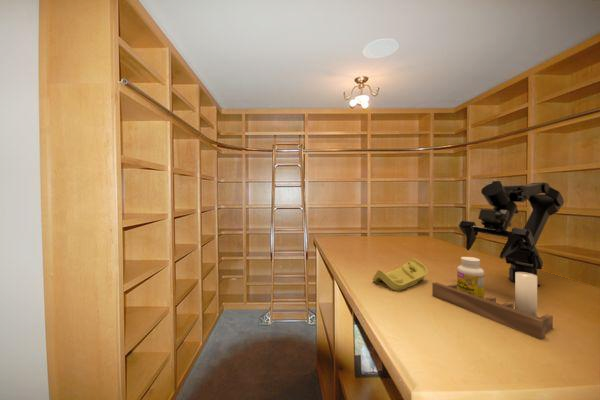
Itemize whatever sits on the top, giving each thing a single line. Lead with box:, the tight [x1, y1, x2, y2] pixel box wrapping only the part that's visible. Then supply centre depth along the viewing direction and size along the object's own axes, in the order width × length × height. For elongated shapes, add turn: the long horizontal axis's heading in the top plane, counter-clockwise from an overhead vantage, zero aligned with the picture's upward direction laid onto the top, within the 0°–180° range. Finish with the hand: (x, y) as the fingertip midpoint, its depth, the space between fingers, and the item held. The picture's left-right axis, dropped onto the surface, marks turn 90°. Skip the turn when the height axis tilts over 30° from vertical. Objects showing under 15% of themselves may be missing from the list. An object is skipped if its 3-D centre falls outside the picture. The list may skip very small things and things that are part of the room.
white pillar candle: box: [514, 272, 538, 317], centre depth 59 cm, size 4×4×12 cm
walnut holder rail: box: [432, 281, 554, 340], centre depth 65 cm, size 8×26×4 cm, turn 26°
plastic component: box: [372, 257, 429, 292], centre depth 87 cm, size 20×7×10 cm
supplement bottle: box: [456, 256, 485, 298], centre depth 71 cm, size 7×7×13 cm
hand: (483, 253), depth 75 cm, fingers open, 9 cm apart
